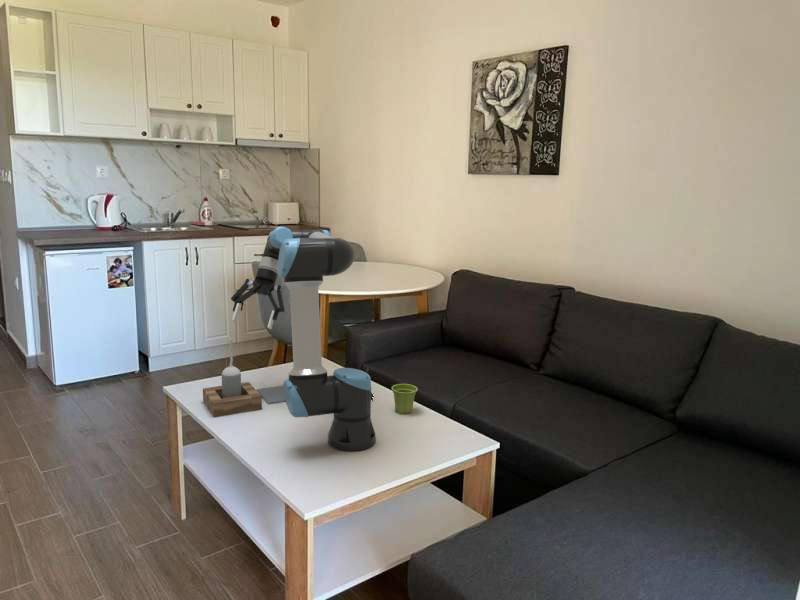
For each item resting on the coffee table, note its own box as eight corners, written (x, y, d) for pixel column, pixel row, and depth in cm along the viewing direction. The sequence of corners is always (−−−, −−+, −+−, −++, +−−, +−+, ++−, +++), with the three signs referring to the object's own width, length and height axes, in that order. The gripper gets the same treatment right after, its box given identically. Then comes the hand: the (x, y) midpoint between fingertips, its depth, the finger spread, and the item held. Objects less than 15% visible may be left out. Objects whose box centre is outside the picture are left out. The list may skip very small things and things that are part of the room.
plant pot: (417, 406, 217) (418, 384, 215) (415, 416, 208) (416, 393, 206) (392, 405, 218) (393, 383, 216) (389, 414, 208) (390, 391, 207)
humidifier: (246, 407, 211) (244, 340, 207) (222, 410, 208) (220, 342, 203) (241, 399, 219) (239, 335, 214) (218, 403, 215) (216, 337, 210)
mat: (309, 397, 223) (309, 396, 223) (268, 404, 215) (268, 402, 215) (295, 385, 236) (295, 383, 236) (255, 390, 228) (255, 389, 228)
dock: (261, 409, 210) (261, 396, 209) (213, 417, 202) (213, 403, 201) (248, 394, 225) (248, 381, 224) (203, 401, 216) (202, 388, 215)
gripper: (302, 280, 221) (286, 333, 215) (240, 268, 224) (223, 320, 218) (297, 273, 214) (281, 328, 208) (233, 261, 217) (215, 314, 211)
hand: (251, 324), depth 213 cm, fingers open, 13 cm apart
